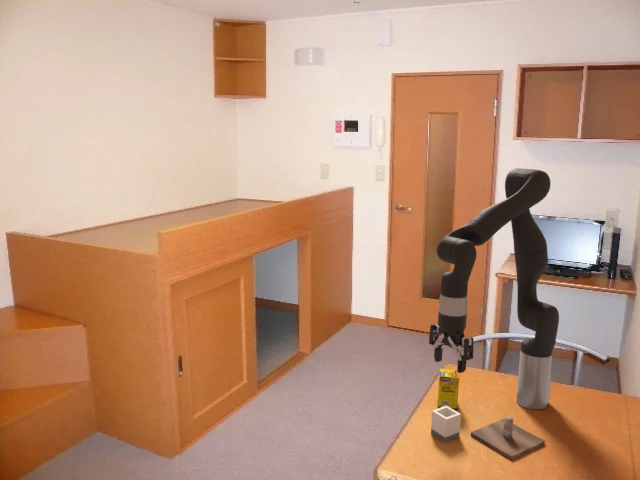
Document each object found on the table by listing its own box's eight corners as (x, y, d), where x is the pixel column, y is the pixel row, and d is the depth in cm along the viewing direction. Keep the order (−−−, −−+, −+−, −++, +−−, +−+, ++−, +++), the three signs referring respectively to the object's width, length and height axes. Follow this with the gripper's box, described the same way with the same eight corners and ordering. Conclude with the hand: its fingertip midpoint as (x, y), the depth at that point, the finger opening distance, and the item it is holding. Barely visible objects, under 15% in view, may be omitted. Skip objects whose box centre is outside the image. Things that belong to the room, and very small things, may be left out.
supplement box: (457, 411, 171) (459, 378, 169) (437, 409, 172) (439, 376, 170) (456, 401, 177) (458, 369, 175) (437, 399, 178) (439, 368, 176)
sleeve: (445, 427, 162) (446, 405, 160) (459, 436, 157) (461, 414, 156) (430, 433, 159) (432, 410, 157) (445, 442, 154) (446, 419, 153)
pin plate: (503, 421, 165) (505, 401, 164) (544, 444, 154) (546, 422, 152) (470, 435, 158) (472, 414, 157) (511, 460, 146) (513, 437, 145)
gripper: (482, 315, 147) (478, 373, 150) (443, 301, 158) (440, 354, 162) (462, 320, 143) (458, 379, 146) (424, 305, 154) (421, 360, 158)
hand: (449, 366), depth 154 cm, fingers open, 8 cm apart
